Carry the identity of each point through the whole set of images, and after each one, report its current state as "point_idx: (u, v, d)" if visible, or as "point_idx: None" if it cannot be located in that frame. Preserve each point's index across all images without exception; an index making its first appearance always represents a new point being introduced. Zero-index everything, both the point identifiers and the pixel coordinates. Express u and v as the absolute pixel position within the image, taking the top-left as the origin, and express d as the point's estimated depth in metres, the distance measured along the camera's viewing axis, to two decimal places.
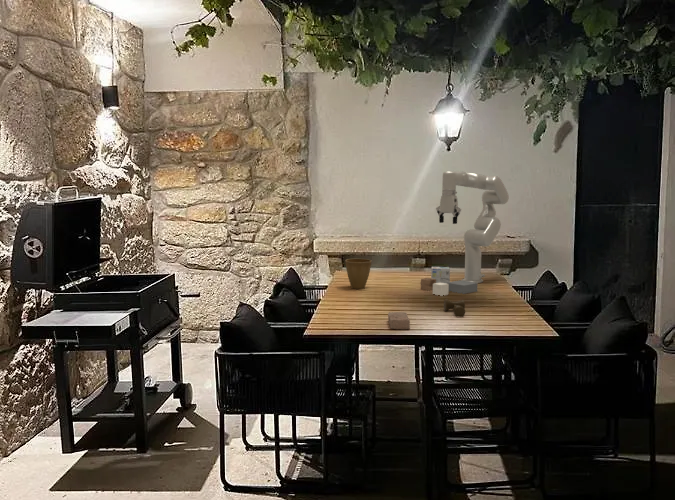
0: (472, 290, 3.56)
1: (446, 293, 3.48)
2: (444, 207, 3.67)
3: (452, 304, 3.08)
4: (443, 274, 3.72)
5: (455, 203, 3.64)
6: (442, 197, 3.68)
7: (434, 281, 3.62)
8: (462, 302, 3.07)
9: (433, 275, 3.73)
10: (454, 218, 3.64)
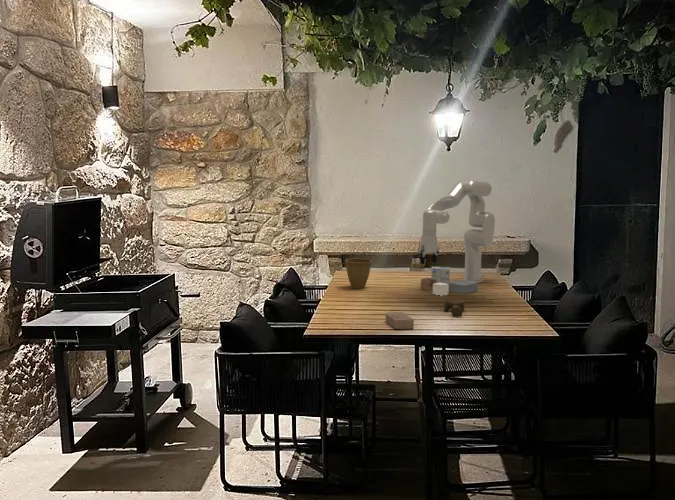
0: (472, 290, 3.56)
1: (446, 293, 3.48)
2: (430, 247, 3.58)
3: (452, 304, 3.08)
4: (443, 274, 3.72)
5: None
6: (428, 237, 3.56)
7: (434, 281, 3.62)
8: (461, 302, 3.07)
9: (433, 275, 3.73)
10: None
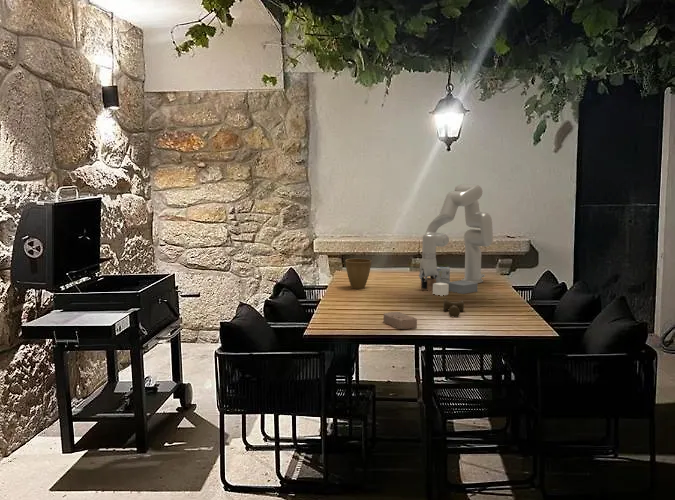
0: (472, 290, 3.55)
1: (446, 293, 3.48)
2: (430, 271, 3.60)
3: (451, 305, 3.08)
4: (443, 274, 3.72)
5: None
6: (428, 261, 3.58)
7: (434, 281, 3.62)
8: (461, 302, 3.06)
9: None
10: None
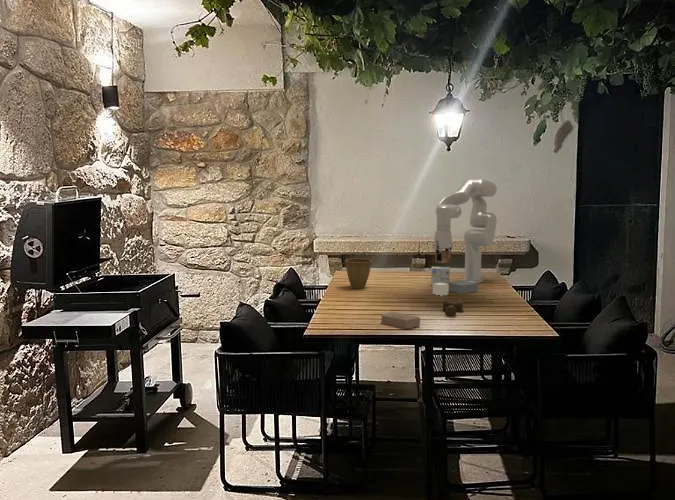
0: (472, 290, 3.55)
1: (446, 293, 3.48)
2: (445, 243, 3.56)
3: (450, 305, 3.08)
4: (443, 274, 3.72)
5: None
6: (443, 233, 3.54)
7: (449, 253, 3.58)
8: (460, 303, 3.06)
9: (433, 275, 3.73)
10: None
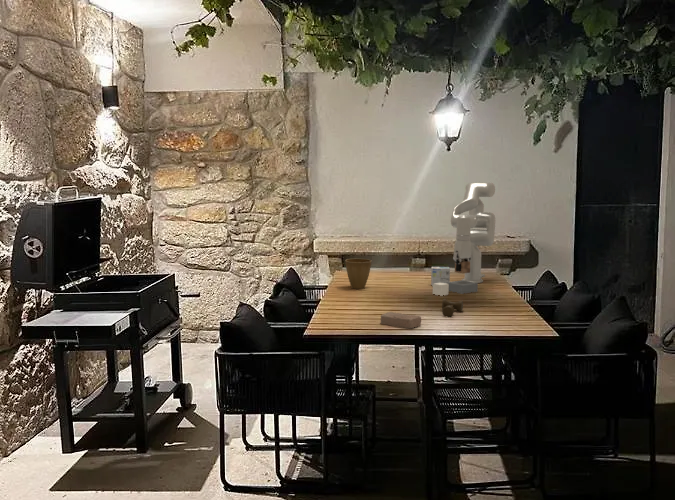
0: (471, 290, 3.55)
1: (446, 293, 3.48)
2: (465, 253, 3.54)
3: (450, 305, 3.08)
4: (443, 274, 3.72)
5: None
6: (463, 243, 3.52)
7: (468, 263, 3.56)
8: (459, 303, 3.06)
9: (433, 275, 3.73)
10: None
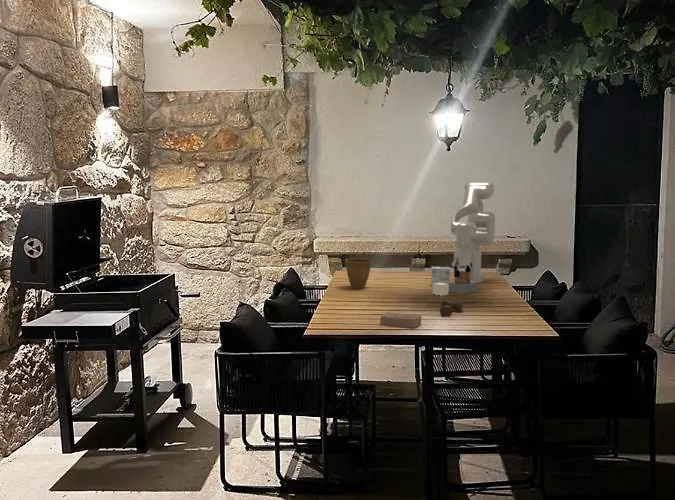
0: (471, 290, 3.55)
1: (446, 293, 3.48)
2: (464, 260, 3.55)
3: (449, 305, 3.08)
4: (443, 274, 3.72)
5: None
6: (463, 250, 3.53)
7: (468, 274, 3.57)
8: (458, 303, 3.05)
9: (433, 275, 3.73)
10: None
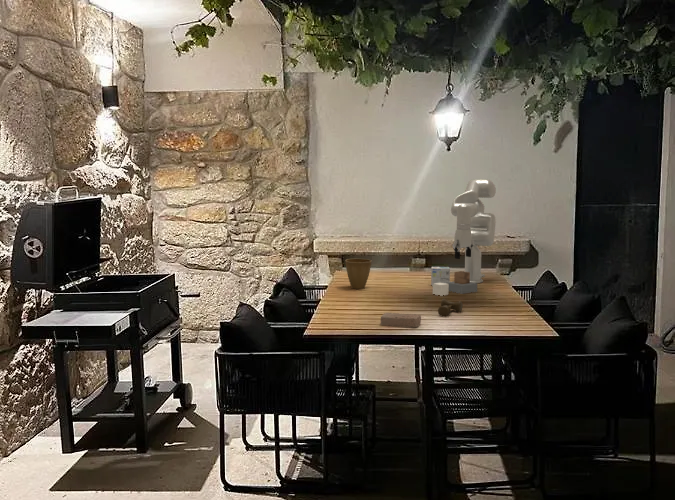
0: (471, 290, 3.55)
1: (446, 293, 3.48)
2: (465, 242, 3.54)
3: (449, 305, 3.08)
4: (443, 274, 3.72)
5: None
6: (463, 232, 3.52)
7: (468, 274, 3.57)
8: (457, 303, 3.05)
9: (433, 275, 3.73)
10: None
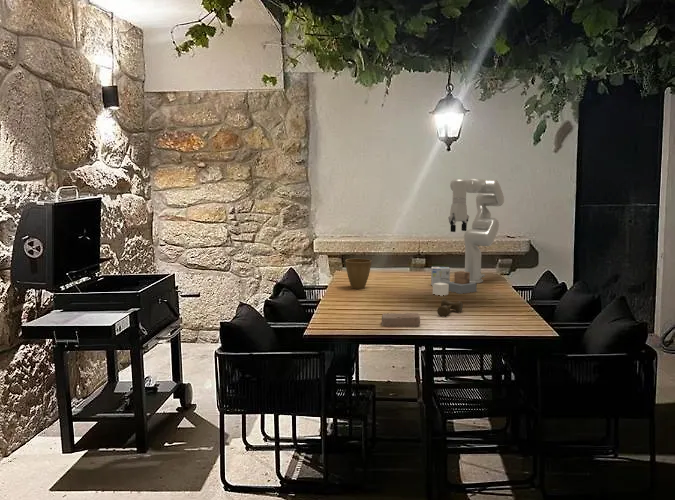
0: (470, 290, 3.55)
1: (446, 293, 3.48)
2: (461, 215, 3.63)
3: (449, 305, 3.07)
4: (443, 274, 3.72)
5: None
6: (459, 205, 3.61)
7: (468, 274, 3.57)
8: (457, 303, 3.05)
9: (433, 275, 3.73)
10: None
